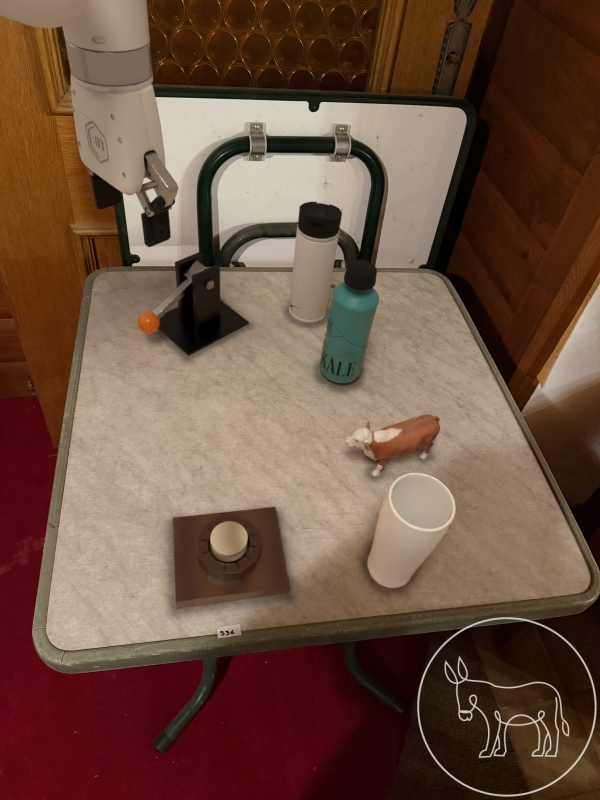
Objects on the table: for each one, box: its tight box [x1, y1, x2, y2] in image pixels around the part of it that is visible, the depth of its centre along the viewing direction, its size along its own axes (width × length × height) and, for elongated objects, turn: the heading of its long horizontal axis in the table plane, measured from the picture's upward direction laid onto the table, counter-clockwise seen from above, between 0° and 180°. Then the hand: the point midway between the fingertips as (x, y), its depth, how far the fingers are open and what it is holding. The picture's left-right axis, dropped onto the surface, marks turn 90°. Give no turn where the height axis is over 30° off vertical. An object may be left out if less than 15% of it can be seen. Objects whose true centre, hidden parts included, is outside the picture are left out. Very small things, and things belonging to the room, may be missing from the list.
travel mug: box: [287, 201, 343, 325], centre depth 87 cm, size 6×7×20 cm
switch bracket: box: [158, 251, 250, 357], centre depth 85 cm, size 12×10×12 cm
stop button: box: [210, 521, 248, 562], centre depth 61 cm, size 4×4×2 cm
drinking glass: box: [366, 472, 457, 589], centre depth 60 cm, size 7×7×15 cm
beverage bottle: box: [319, 259, 380, 384], centre depth 78 cm, size 6×7×20 cm
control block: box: [172, 506, 290, 610], centre depth 63 cm, size 12×10×4 cm
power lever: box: [136, 261, 208, 335], centre depth 82 cm, size 13×3×3 cm, turn 134°
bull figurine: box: [344, 413, 441, 477], centre depth 73 cm, size 4×13×8 cm, turn 111°
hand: (132, 223), depth 66 cm, fingers open, 9 cm apart
